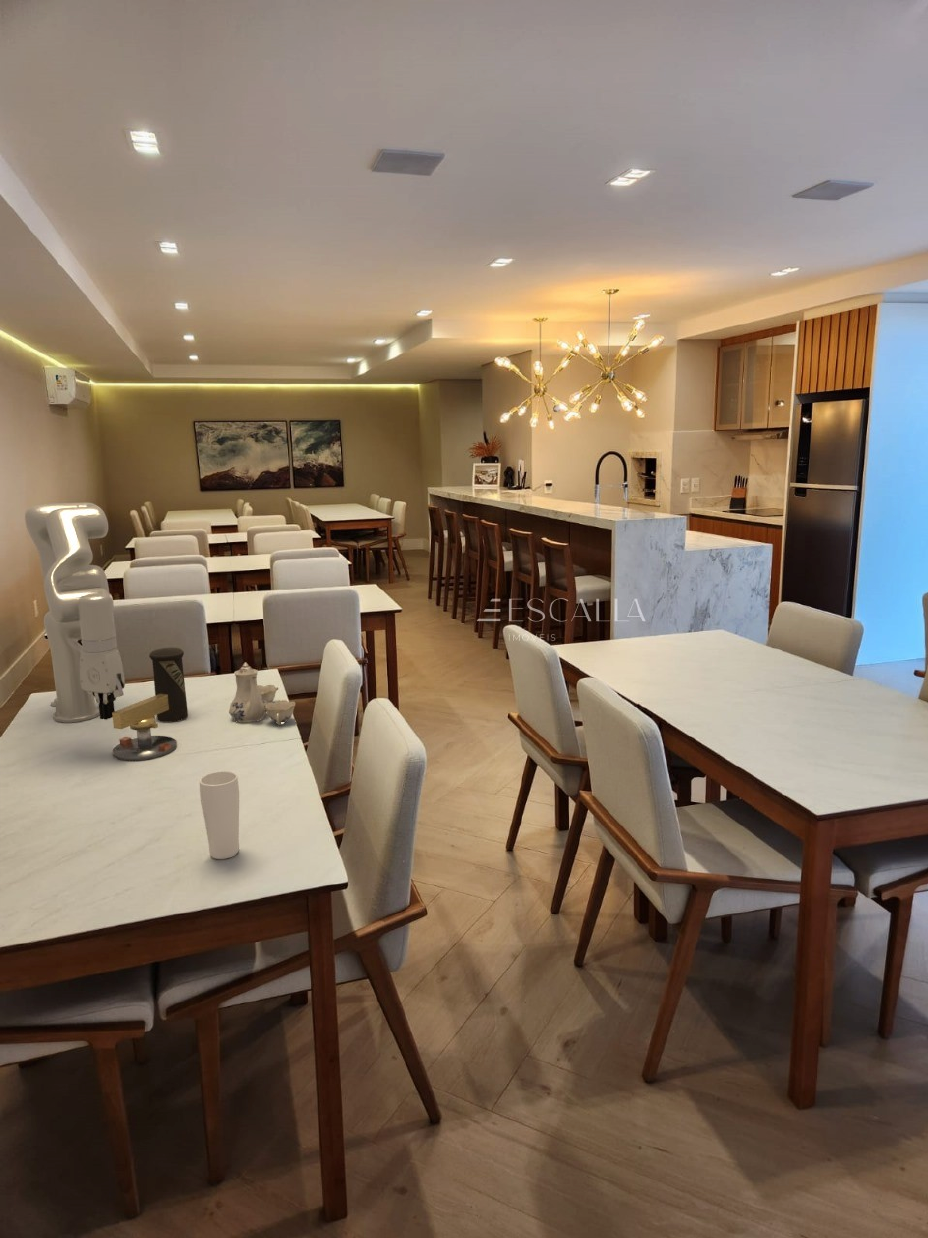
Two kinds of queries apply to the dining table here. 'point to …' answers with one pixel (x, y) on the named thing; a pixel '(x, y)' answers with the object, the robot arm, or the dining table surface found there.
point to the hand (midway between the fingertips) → (107, 717)
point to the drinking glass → (221, 812)
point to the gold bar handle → (141, 713)
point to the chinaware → (257, 699)
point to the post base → (143, 753)
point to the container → (170, 682)
